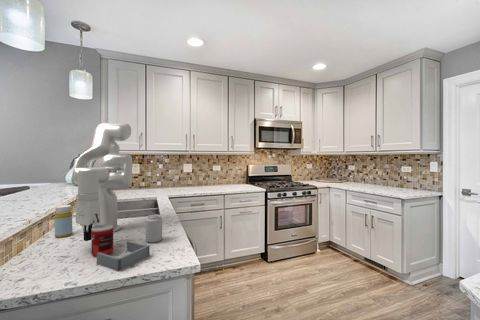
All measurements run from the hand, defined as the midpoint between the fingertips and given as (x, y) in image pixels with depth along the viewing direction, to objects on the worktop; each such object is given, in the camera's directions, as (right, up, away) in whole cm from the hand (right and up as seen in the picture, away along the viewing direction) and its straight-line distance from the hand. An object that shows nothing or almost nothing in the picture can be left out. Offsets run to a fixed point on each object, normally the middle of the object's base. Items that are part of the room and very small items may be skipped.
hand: (88, 239), depth 99 cm
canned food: (+8, -5, -3) cm, 10 cm away
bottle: (-24, -4, +18) cm, 30 cm away
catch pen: (+20, -5, -9) cm, 22 cm away
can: (+24, -5, +12) cm, 27 cm away
